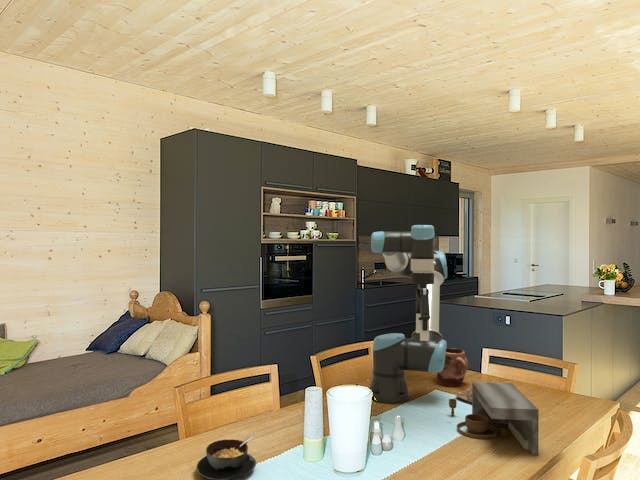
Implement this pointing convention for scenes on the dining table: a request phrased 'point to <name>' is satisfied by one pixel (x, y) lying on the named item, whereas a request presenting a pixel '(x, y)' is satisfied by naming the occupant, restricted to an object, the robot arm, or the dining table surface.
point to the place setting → (475, 424)
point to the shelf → (508, 411)
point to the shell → (466, 396)
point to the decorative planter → (453, 368)
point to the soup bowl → (226, 460)
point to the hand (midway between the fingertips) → (422, 336)
